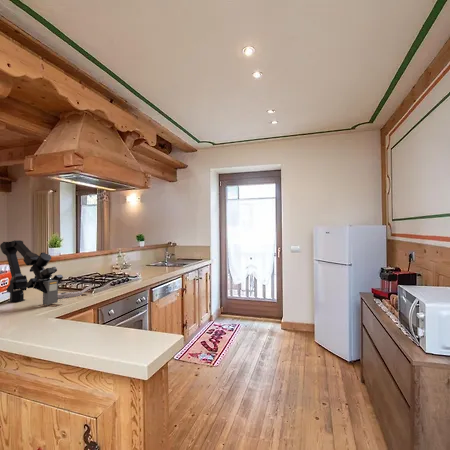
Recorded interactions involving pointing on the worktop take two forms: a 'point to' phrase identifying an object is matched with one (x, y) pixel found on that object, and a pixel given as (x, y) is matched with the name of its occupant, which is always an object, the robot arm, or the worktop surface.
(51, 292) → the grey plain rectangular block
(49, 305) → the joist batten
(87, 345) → the worktop surface
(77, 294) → the mobile phone
